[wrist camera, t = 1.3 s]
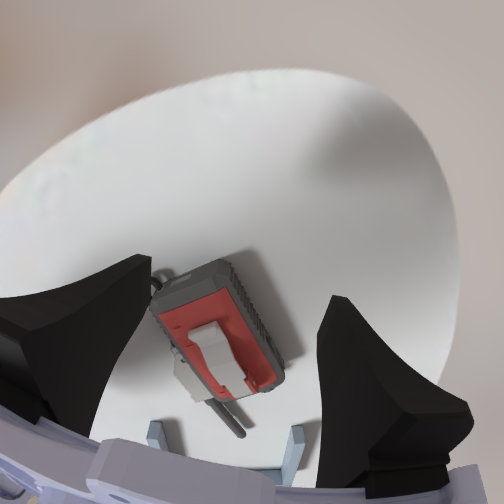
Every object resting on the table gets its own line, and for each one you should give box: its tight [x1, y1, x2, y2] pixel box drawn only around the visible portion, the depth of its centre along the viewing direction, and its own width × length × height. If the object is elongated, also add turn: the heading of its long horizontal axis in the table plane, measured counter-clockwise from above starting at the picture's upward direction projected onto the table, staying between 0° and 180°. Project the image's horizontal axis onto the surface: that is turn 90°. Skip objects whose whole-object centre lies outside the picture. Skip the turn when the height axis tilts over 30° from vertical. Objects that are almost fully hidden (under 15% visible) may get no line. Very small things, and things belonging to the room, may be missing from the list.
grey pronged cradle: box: [146, 421, 306, 487], centre depth 30 cm, size 16×12×2 cm
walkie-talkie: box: [148, 259, 285, 439], centre depth 24 cm, size 9×4×20 cm
